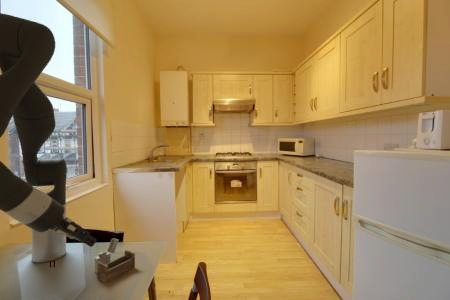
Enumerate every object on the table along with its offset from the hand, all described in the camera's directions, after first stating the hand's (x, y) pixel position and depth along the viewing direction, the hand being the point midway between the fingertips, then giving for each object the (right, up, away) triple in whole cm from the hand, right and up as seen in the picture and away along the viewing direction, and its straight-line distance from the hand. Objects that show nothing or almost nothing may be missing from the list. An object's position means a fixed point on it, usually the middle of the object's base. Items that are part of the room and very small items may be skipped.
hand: (85, 240), depth 64 cm
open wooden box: (+8, -11, +3) cm, 13 cm away
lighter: (+3, -11, +6) cm, 13 cm away
